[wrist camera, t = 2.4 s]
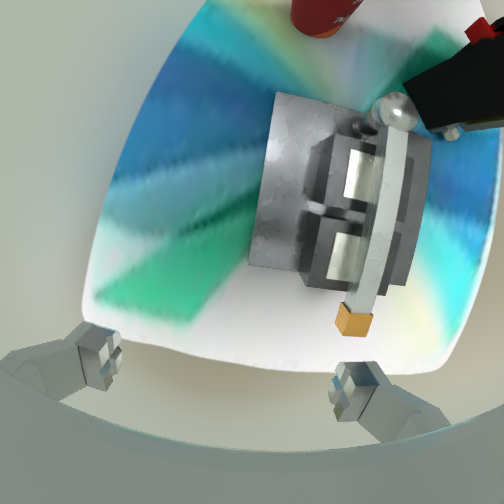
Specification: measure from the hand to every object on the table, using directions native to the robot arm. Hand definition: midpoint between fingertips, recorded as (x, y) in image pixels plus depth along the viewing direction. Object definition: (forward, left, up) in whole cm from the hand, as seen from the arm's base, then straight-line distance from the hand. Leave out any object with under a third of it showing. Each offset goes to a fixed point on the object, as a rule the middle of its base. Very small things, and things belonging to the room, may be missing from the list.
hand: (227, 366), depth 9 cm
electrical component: (-25, +24, -19) cm, 40 cm away
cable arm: (-6, +10, -12) cm, 17 cm away
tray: (-7, +10, -19) cm, 23 cm away
